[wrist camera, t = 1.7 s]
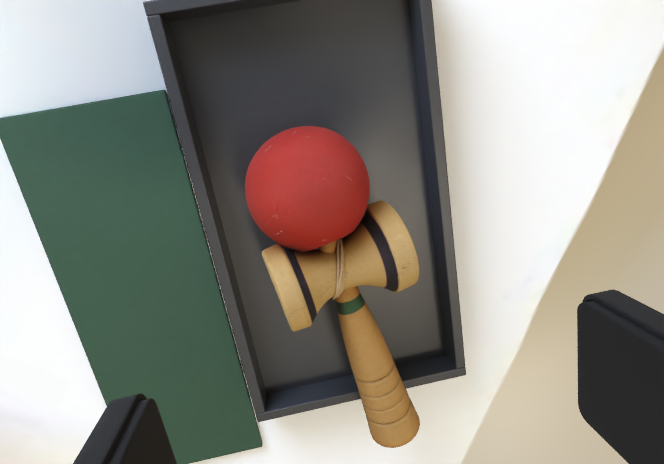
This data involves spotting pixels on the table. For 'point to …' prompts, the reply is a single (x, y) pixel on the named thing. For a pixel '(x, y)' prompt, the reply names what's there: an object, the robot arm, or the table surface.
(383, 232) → the kendama
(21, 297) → the table surface
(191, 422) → the mat
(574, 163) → the table surface
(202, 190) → the dark grey flat tray
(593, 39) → the table surface
